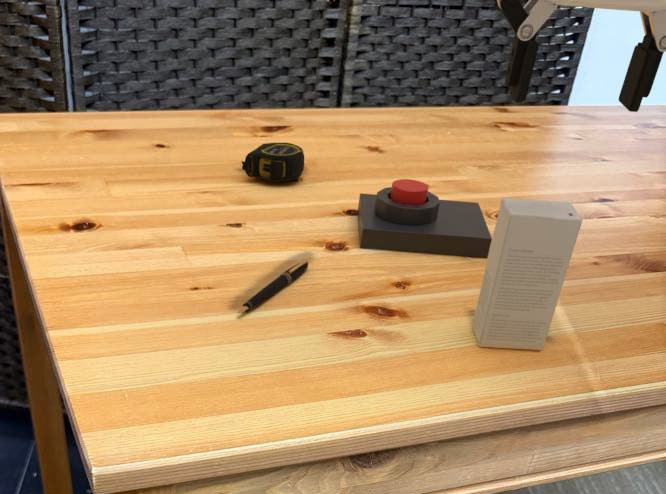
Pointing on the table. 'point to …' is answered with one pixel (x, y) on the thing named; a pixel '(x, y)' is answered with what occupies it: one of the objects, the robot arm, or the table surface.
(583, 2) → the robot arm
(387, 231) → the console
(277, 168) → the tape measure
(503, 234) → the cosmetic box
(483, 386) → the table surface
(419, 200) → the button
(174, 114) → the table surface
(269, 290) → the fountain pen
